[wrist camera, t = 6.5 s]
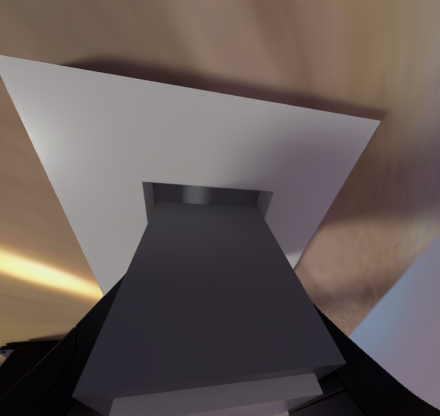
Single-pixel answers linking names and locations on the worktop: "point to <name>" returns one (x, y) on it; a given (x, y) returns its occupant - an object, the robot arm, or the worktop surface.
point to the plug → (208, 323)
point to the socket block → (177, 155)
